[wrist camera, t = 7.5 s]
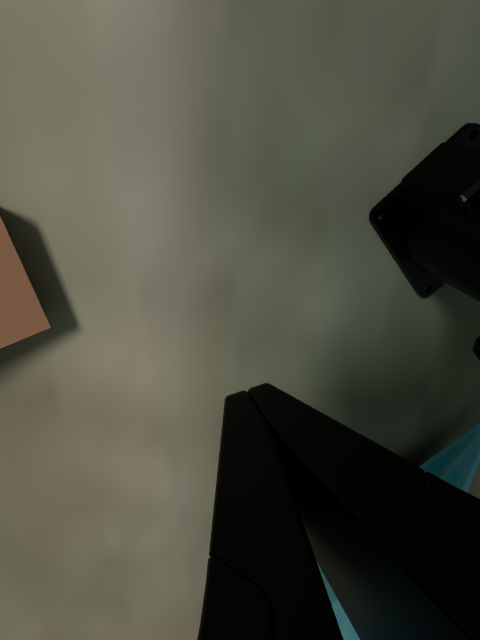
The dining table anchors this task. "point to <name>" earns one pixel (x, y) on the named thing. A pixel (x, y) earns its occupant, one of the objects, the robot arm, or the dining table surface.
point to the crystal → (451, 467)
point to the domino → (16, 297)
